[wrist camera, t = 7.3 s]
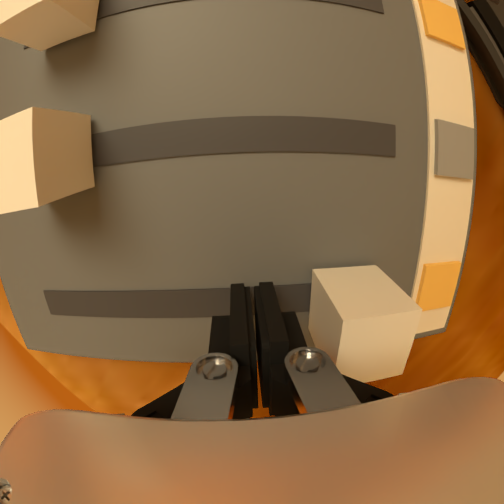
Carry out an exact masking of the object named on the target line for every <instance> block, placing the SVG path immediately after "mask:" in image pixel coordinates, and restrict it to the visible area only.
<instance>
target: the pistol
mask: <svg viewBox="0 0 504 504" xmlns="http://www.w3.org/2000/svg"><path fill="white" fill-rule="evenodd" d="M457 4H458V7H459V11H460V14H461V18H462V22H463V26H464V31H465V35H466V40H467V45H468V49H469V50H470V52H471V54H472V55H473V57H474V59H475V61H476V62H477V64H478V66H479V68H480V70H481V71H482V73H483V75H484V77H485V79H486V81H487V83H488V85H489V87H490V89H491V91H492V93H493V95H494V97H495V99H496V102H497V103H498V104H499V105H500V106H501V107H502V108H504V0H474V1H471V2H469V3H466V2H465V1H464V0H457Z"/></svg>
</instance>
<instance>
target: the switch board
mask: <svg viewBox="0 0 504 504" xmlns="http://www.w3.org/2000/svg"><path fill="white" fill-rule="evenodd" d="M31 107H38V108H47V109H54V110H61V111H68V112H75V113H81V114H87V115H91V144H92V160H93V173H94V183H95V187H92V188H89V189H86V190H83V191H81V192H78V193H75V194H72V195H69V196H66V197H64V198H61V199H58V200H56V201H53V202H50V203H48V204H45V205H43V206H40V207H36V208H31V209H25V210H20V211H14V212H9V213H4V214H0V277H1V280H2V284H3V287H4V290H5V293H6V296H7V299H8V302H9V304H10V307H11V310H12V313H13V315H14V318H15V320H16V323H17V325H18V328H19V330H20V333H21V335H22V337H23V339H24V342H25V344H26V346H27V348H28V349H32V350H38V351H44V352H51V353H58V354H65V355H73V356H82V357H91V358H102V359H114V360H128V361H148V362H194V361H195V360H196V359H197V358H198V357H200V356H202V355H205V354H208V350H209V341H210V332H211V323H212V316H223V315H230V289H231V284H237V283H244V287H247V286H250V294H251V303H252V312H253V321H254V330H255V307H254V286H259V282H273V284H274V288H275V292H276V295H277V299H278V303H279V306H280V310H281V312H290V311H295V313H296V315H297V318H298V321H299V324H300V327H301V330H302V332H303V335H304V338H305V341H306V344H307V347H314V348H316V347H315V344H314V342H313V339H312V337H311V334H310V331H309V329H308V326H309V313H310V300H311V284H312V269H322V268H338V267H353V266H368V265H376V266H378V267H379V268H380V269H381V270H382V271H383V272H384V273H385V274H386V275H387V276H388V277H389V278H391V279H392V280H393V281H394V282H395V283H396V284H397V285H398V286H399V287H400V288H401V289H402V290H403V291H404V292H405V293H406V294H407V295H408V296H409V297H410V298H411V299H413V300H414V301H415V302H416V303H417V304H418V305H419V306H420V307H421V308H422V313H421V317H420V320H419V324H418V327H417V331H416V334H415V337H414V339H417V338H421V337H425V336H430V335H434V334H438V333H442V332H445V331H446V328H447V325H448V322H449V318H450V315H451V312H452V308H453V305H454V302H455V298H456V294H457V290H458V287H459V283H460V279H461V274H462V270H463V265H464V261H465V256H466V251H467V245H468V240H469V234H470V227H471V220H472V212H473V204H474V194H475V181H476V162H477V124H476V105H475V93H474V84H473V75H472V68H471V62H470V56H469V50H468V45H467V40H466V35H465V31H464V26H463V22H462V18H461V14H460V11H459V7H458V4H457V0H99V6H98V12H97V19H96V26H95V31H94V32H90V33H87V34H84V35H81V36H79V37H76V38H73V39H70V40H68V41H65V42H62V43H60V44H57V45H55V46H52V47H50V48H48V49H45V50H43V51H39V50H36V49H34V48H31V47H28V46H25V45H23V44H20V43H17V42H14V41H11V40H8V39H5V38H2V37H0V120H2V119H5V118H7V117H9V116H11V115H14V114H16V113H18V112H21V111H23V110H26V109H28V108H31ZM255 339H256V336H255ZM256 356H257V351H256Z"/></svg>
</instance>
